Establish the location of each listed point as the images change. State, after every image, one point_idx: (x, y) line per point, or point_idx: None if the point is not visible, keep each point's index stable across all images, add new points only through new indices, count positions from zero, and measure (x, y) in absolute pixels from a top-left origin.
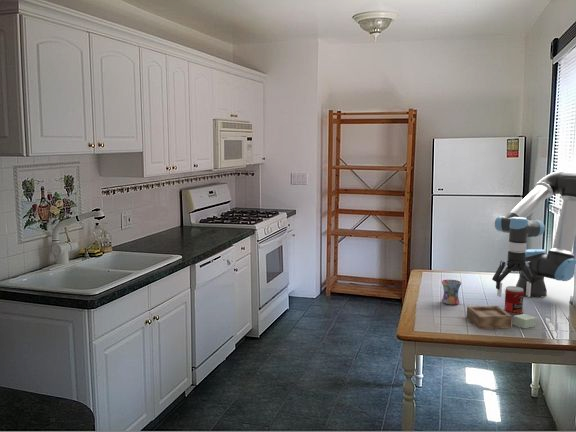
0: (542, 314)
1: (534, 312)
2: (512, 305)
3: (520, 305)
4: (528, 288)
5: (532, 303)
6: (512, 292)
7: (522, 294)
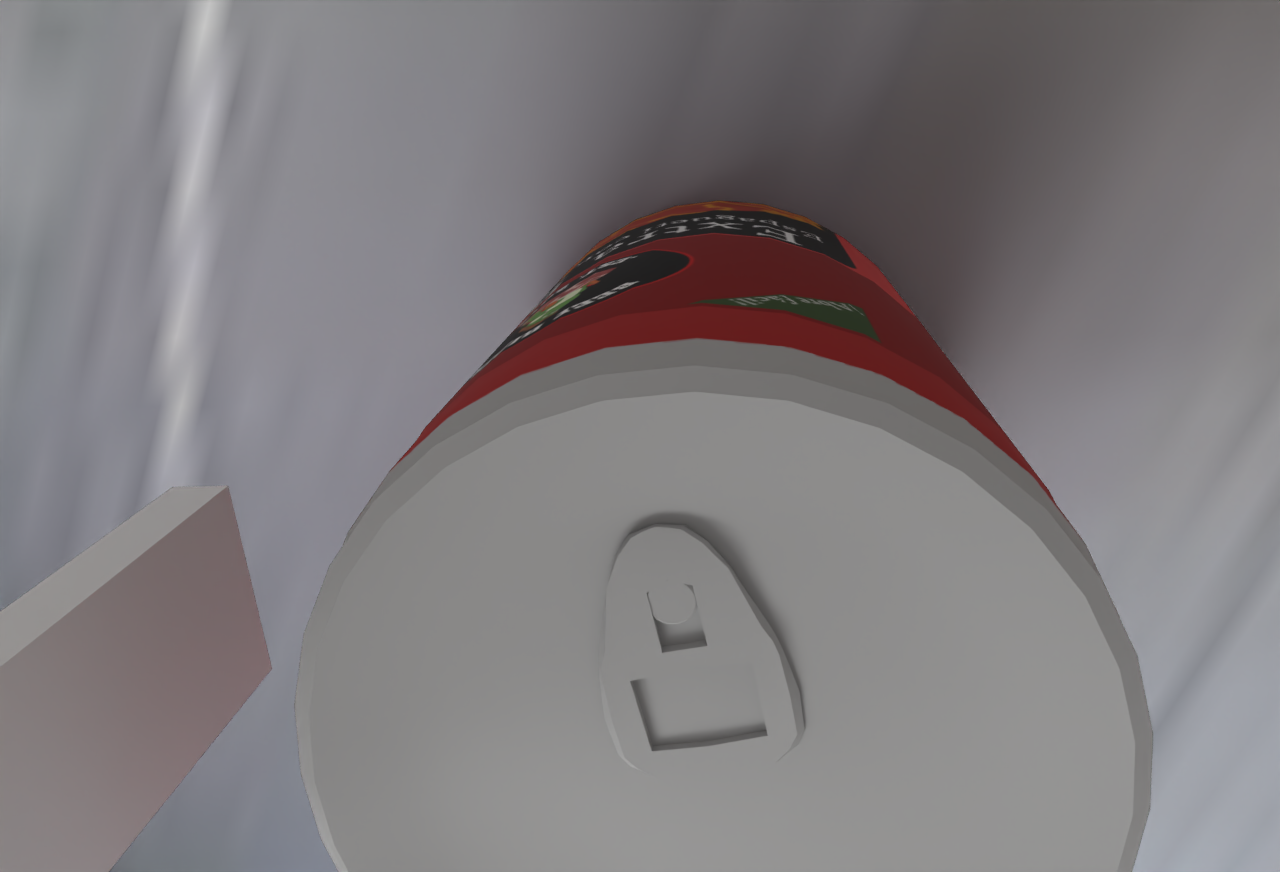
0: (115, 173)
1: (259, 320)
2: (858, 265)
3: (610, 249)
4: (31, 722)
5: (151, 858)
6: (974, 416)
7: (465, 388)
